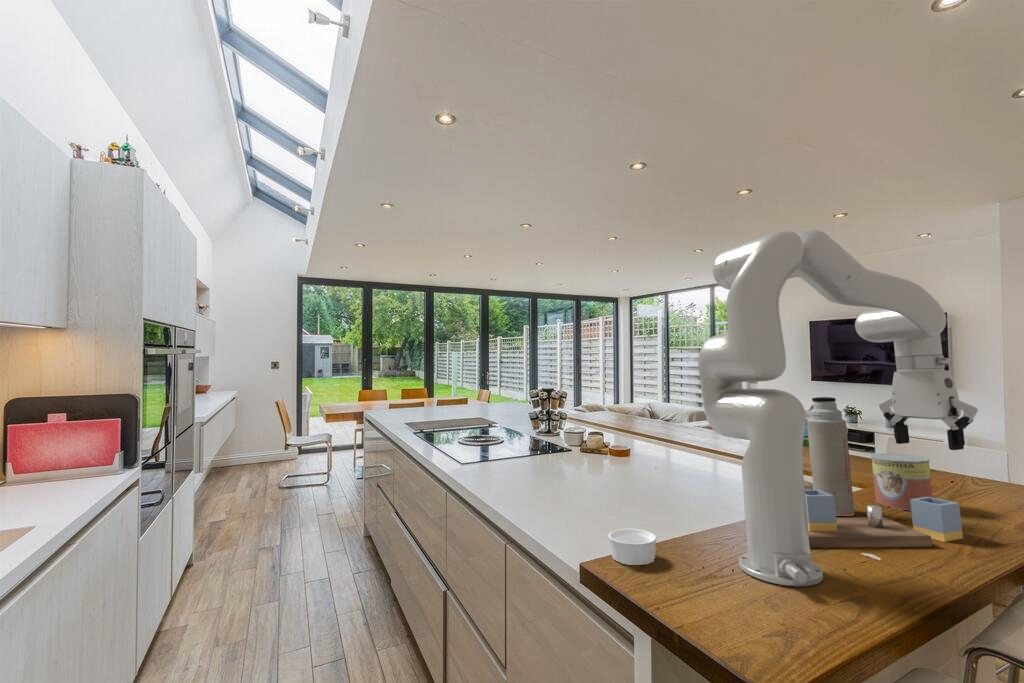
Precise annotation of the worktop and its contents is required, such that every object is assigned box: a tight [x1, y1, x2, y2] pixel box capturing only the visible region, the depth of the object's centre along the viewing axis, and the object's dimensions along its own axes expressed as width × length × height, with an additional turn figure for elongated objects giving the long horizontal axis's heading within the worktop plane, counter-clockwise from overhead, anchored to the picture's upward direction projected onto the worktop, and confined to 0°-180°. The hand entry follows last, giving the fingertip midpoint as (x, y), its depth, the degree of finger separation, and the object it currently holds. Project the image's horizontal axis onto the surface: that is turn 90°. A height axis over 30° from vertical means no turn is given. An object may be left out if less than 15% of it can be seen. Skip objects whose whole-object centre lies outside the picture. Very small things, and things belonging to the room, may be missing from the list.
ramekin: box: [608, 528, 657, 566], centre depth 86 cm, size 9×9×4 cm
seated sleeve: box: [805, 489, 837, 531], centre depth 95 cm, size 5×5×7 cm
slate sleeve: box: [910, 497, 964, 543], centre depth 93 cm, size 5×5×7 cm
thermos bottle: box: [806, 396, 855, 515], centre depth 111 cm, size 8×8×28 cm
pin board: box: [808, 504, 933, 548], centre depth 94 cm, size 12×24×6 cm, turn 86°
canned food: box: [870, 453, 934, 511], centre depth 114 cm, size 11×11×12 cm
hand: (928, 446), depth 94 cm, fingers open, 9 cm apart
